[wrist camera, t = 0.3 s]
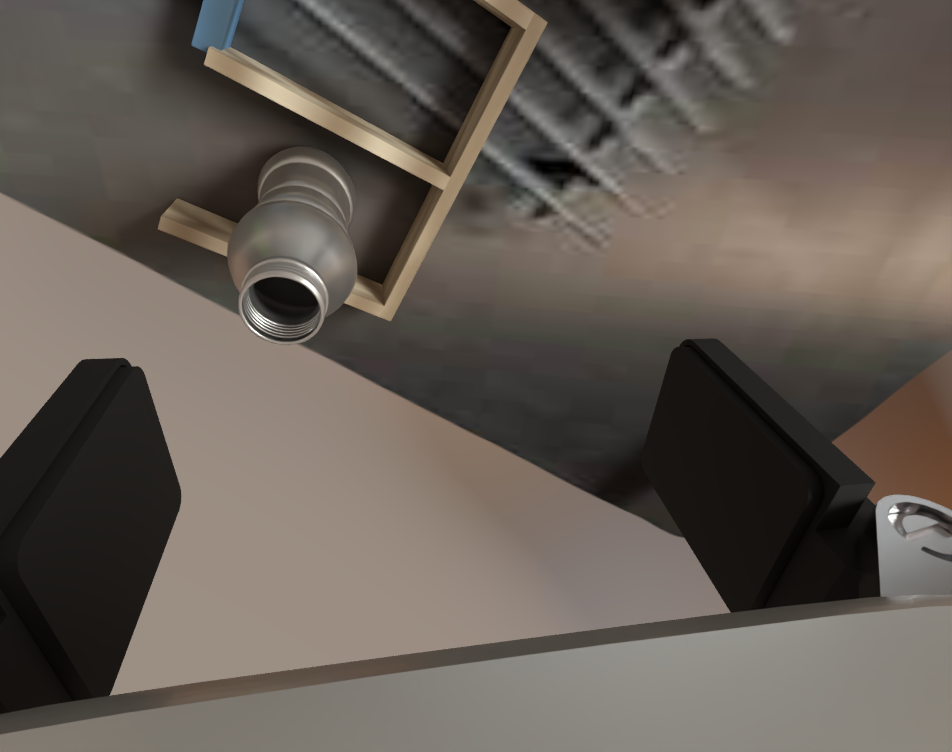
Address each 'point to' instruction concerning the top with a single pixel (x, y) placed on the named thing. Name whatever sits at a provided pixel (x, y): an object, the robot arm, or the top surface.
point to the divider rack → (364, 140)
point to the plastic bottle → (295, 246)
